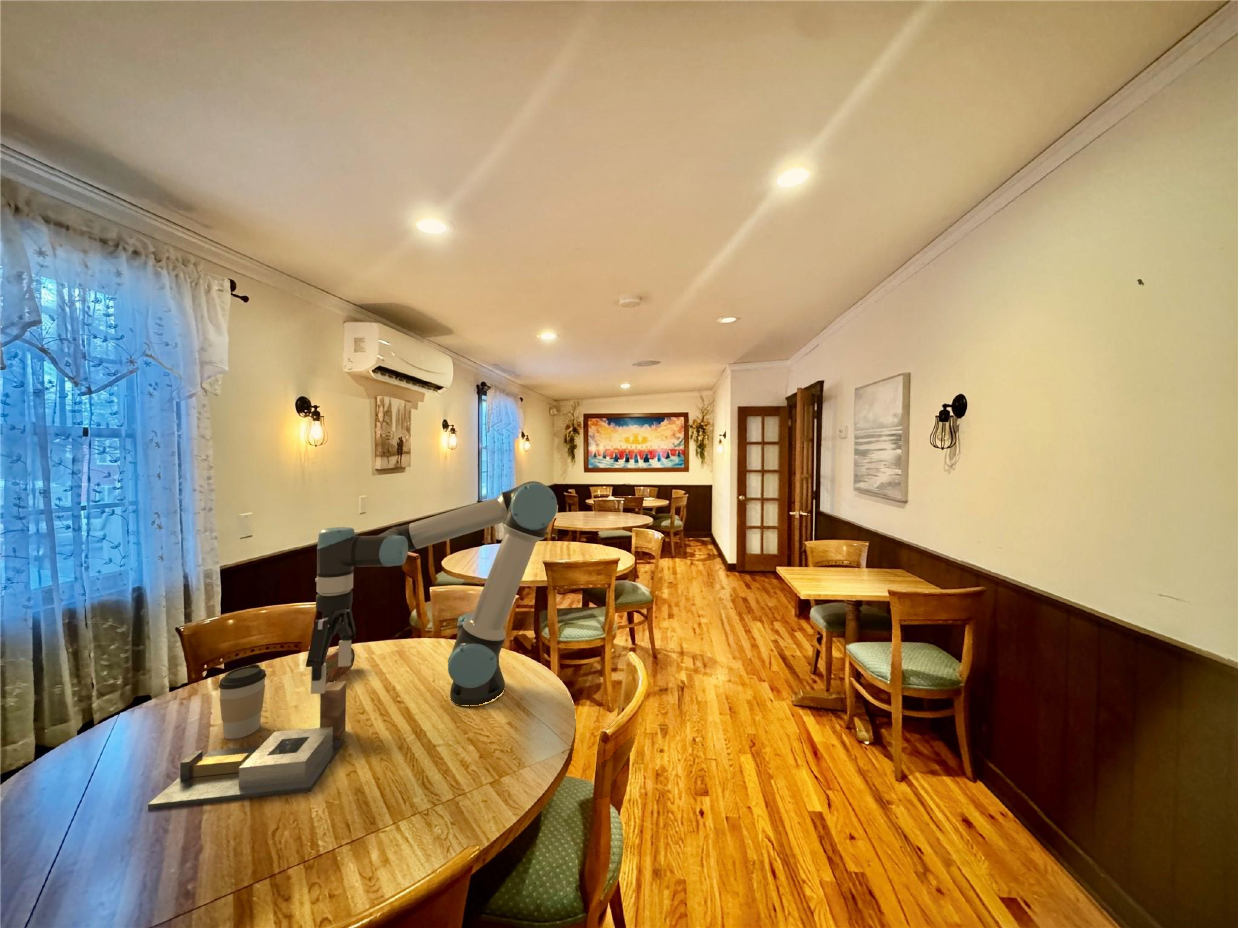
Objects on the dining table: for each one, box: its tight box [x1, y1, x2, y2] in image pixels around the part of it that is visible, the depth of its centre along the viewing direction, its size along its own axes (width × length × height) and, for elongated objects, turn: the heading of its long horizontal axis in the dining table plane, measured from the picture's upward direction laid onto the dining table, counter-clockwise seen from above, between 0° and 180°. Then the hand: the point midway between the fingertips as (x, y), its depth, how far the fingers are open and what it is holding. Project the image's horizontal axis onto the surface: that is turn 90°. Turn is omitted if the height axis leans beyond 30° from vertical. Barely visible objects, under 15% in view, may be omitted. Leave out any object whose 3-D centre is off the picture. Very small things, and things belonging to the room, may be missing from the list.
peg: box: [319, 680, 348, 739], centre depth 106 cm, size 4×4×12 cm
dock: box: [147, 727, 346, 810], centre depth 93 cm, size 28×16×5 cm, turn 100°
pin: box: [179, 749, 248, 780], centre depth 92 cm, size 11×4×4 cm, turn 100°
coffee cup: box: [217, 663, 267, 740], centre depth 108 cm, size 9×9×15 cm
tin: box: [324, 646, 356, 684], centre depth 134 cm, size 15×3×8 cm, turn 174°
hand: (332, 678), depth 106 cm, fingers open, 13 cm apart
